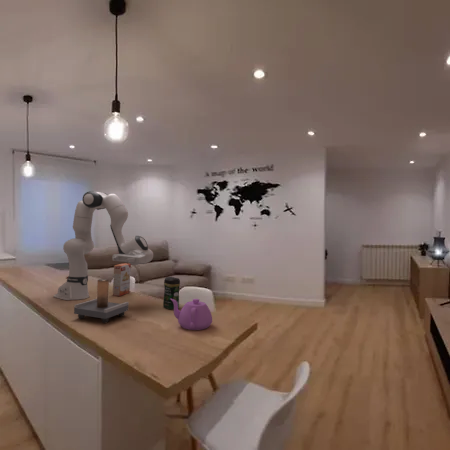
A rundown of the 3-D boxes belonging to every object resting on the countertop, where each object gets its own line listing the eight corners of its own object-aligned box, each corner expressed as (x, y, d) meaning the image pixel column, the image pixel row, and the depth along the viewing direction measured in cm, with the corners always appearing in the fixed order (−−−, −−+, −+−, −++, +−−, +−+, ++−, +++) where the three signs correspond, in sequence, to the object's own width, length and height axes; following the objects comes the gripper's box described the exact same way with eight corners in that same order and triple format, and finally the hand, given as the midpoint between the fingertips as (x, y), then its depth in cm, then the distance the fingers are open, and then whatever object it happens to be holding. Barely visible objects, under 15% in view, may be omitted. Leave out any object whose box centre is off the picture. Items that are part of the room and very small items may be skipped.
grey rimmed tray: (73, 319, 172) (74, 304, 171) (98, 311, 188) (98, 297, 188) (105, 324, 165) (106, 309, 165) (128, 315, 182) (128, 302, 182)
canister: (94, 306, 175) (95, 280, 175) (101, 304, 180) (102, 278, 180) (103, 308, 173) (104, 281, 173) (110, 305, 178) (111, 279, 178)
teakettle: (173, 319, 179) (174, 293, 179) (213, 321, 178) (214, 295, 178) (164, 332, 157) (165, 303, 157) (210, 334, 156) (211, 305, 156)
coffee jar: (160, 307, 202) (161, 276, 202) (171, 305, 208) (172, 275, 208) (171, 310, 196) (172, 278, 196) (181, 308, 202) (182, 277, 202)
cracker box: (120, 296, 226) (121, 265, 226) (112, 295, 227) (113, 265, 227) (130, 292, 240) (131, 263, 239) (122, 291, 241) (123, 262, 241)
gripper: (120, 251, 206) (105, 252, 193) (149, 253, 199) (135, 255, 186) (120, 261, 206) (105, 263, 193) (149, 264, 199) (135, 266, 186)
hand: (120, 259), depth 190 cm, fingers open, 8 cm apart
